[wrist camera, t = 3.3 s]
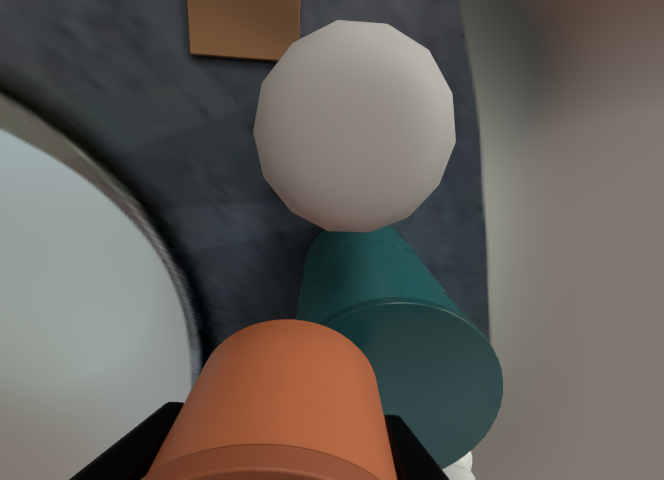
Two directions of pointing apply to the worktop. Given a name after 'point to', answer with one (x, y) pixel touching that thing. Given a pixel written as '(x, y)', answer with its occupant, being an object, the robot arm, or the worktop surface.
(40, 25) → the worktop surface
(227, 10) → the coaster
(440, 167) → the salt shaker
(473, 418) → the tin
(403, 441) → the robot arm
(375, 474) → the brown lid
